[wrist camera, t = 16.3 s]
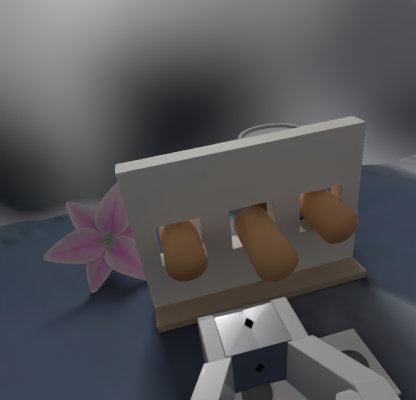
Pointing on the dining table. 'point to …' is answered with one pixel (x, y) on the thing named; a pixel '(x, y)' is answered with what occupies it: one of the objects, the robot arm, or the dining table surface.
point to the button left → (183, 251)
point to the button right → (328, 215)
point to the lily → (99, 241)
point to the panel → (238, 198)
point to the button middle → (265, 244)
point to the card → (343, 341)
